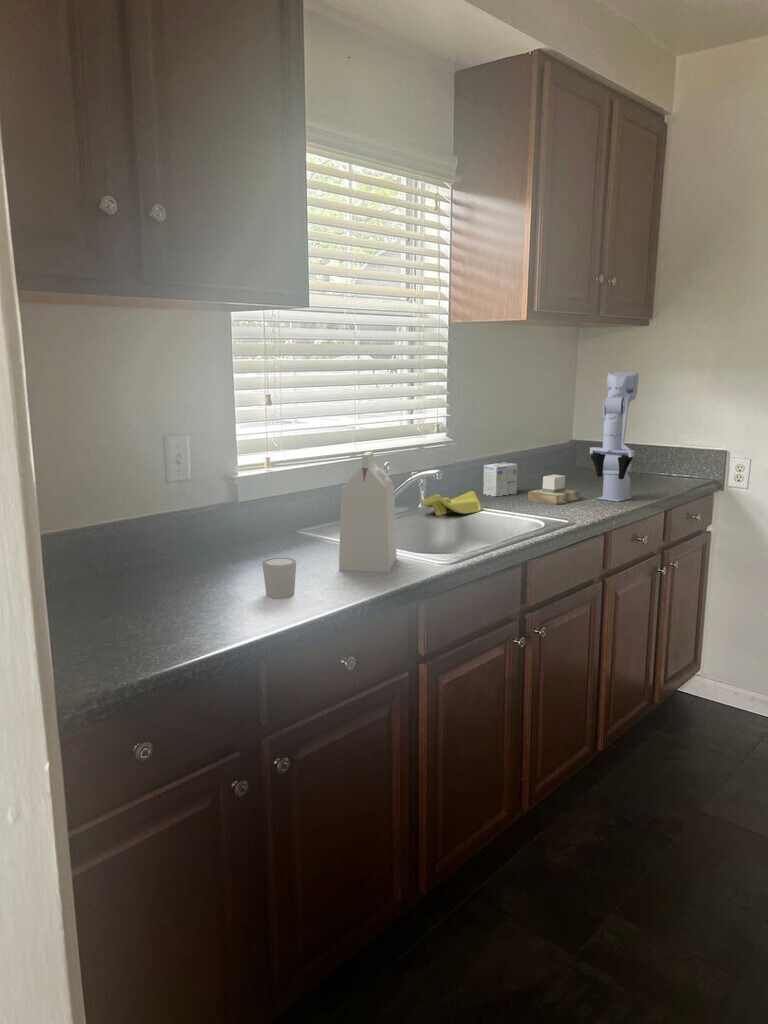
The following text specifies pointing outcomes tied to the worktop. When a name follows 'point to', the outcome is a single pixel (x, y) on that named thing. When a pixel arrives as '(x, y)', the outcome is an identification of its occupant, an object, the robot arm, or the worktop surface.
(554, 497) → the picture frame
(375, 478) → the milk
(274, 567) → the shot glass
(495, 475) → the light bulb box
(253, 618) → the worktop surface
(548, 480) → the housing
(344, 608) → the worktop surface
